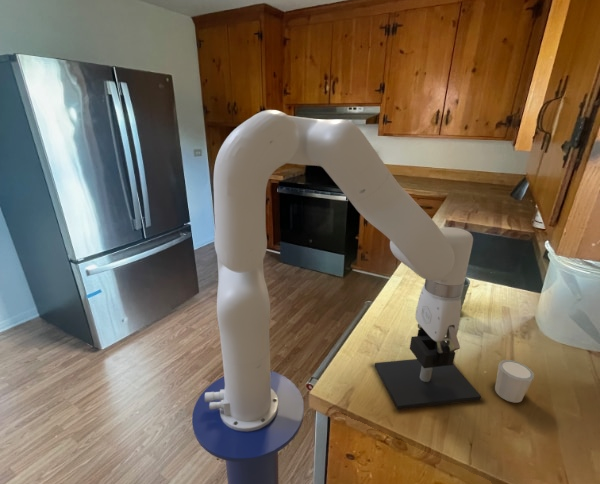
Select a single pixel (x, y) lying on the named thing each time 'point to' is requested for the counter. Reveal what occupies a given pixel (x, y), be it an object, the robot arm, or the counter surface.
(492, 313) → the counter surface
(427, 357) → the black square frame
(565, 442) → the counter surface
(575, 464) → the counter surface
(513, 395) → the white short cylinder
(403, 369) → the base pad
